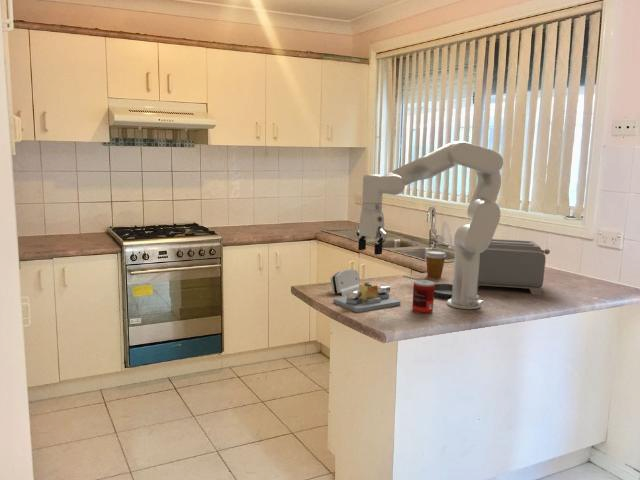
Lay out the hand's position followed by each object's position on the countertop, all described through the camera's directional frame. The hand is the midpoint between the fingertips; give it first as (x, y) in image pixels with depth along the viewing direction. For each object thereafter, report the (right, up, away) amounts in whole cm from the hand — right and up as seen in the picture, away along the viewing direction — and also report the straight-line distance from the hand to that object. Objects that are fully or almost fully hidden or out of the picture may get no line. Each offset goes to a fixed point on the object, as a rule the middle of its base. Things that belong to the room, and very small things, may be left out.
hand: (369, 252), depth 215 cm
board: (-1, -20, +3) cm, 20 cm away
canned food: (+19, -22, -4) cm, 30 cm away
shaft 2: (+5, -20, +7) cm, 21 cm away
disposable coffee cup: (+35, -13, +52) cm, 64 cm away
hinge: (-8, -17, +22) cm, 29 cm away
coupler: (-1, -19, +3) cm, 19 cm away
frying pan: (+29, -18, +26) cm, 43 cm away
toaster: (+63, -17, +37) cm, 75 cm away
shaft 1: (-6, -21, -2) cm, 22 cm away
